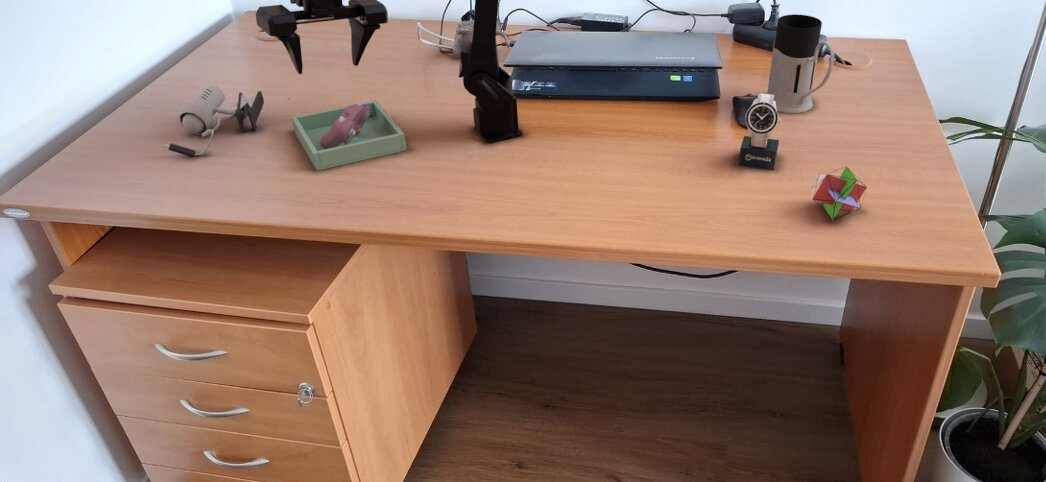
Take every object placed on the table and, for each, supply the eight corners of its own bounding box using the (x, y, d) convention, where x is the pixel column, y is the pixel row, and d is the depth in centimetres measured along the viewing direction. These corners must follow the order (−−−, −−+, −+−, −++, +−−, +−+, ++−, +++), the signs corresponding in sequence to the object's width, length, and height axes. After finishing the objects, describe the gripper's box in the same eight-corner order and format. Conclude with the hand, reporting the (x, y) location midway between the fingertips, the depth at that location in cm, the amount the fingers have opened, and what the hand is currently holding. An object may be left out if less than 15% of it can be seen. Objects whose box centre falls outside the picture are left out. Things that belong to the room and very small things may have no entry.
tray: (379, 115, 145) (376, 100, 143) (406, 150, 134) (404, 134, 132) (295, 132, 139) (291, 117, 137) (316, 170, 128) (313, 154, 126)
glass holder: (793, 90, 154) (804, 10, 145) (842, 119, 143) (857, 35, 135) (754, 98, 151) (763, 17, 142) (801, 128, 140) (814, 43, 132)
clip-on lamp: (229, 175, 133) (272, 108, 145) (218, 145, 128) (264, 78, 140) (159, 165, 133) (208, 99, 145) (145, 135, 128) (197, 69, 140)
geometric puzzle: (864, 185, 120) (840, 147, 115) (883, 209, 114) (858, 170, 110) (822, 213, 122) (796, 177, 117) (838, 238, 116) (812, 201, 112)
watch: (736, 171, 128) (743, 105, 121) (743, 148, 134) (751, 84, 128) (772, 175, 127) (782, 109, 120) (778, 152, 133) (787, 88, 127)
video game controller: (341, 161, 133) (353, 127, 129) (316, 147, 132) (326, 113, 128) (367, 135, 141) (379, 102, 137) (343, 122, 140) (354, 89, 136)
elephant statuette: (462, 46, 173) (458, 10, 169) (517, 49, 172) (515, 12, 168) (450, 62, 166) (446, 25, 161) (508, 65, 164) (506, 27, 160)
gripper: (354, -51, 131) (360, 45, 140) (235, -43, 120) (249, 59, 129) (387, -31, 124) (391, 67, 133) (264, -22, 114) (277, 85, 123)
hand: (328, 69), depth 130 cm, fingers open, 9 cm apart
